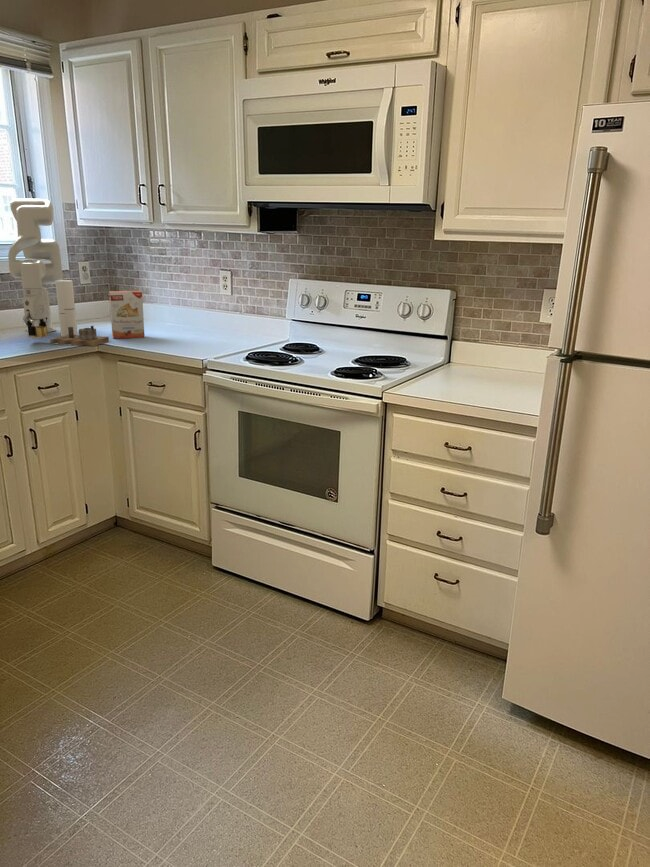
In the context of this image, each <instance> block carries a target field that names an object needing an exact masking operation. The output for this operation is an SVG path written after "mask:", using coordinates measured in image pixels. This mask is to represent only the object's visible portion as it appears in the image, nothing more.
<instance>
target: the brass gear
mask: <svg viewBox="0 0 650 867" xmlns="http://www.w3.org/2000/svg"><path fill="white" fill-rule="evenodd" d="M35 330H36V336H29V335H28V336H29V338H32V339H33V338H34V339H35V338H46V337H47V336H48V332H47V329H46V326H35Z"/></svg>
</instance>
